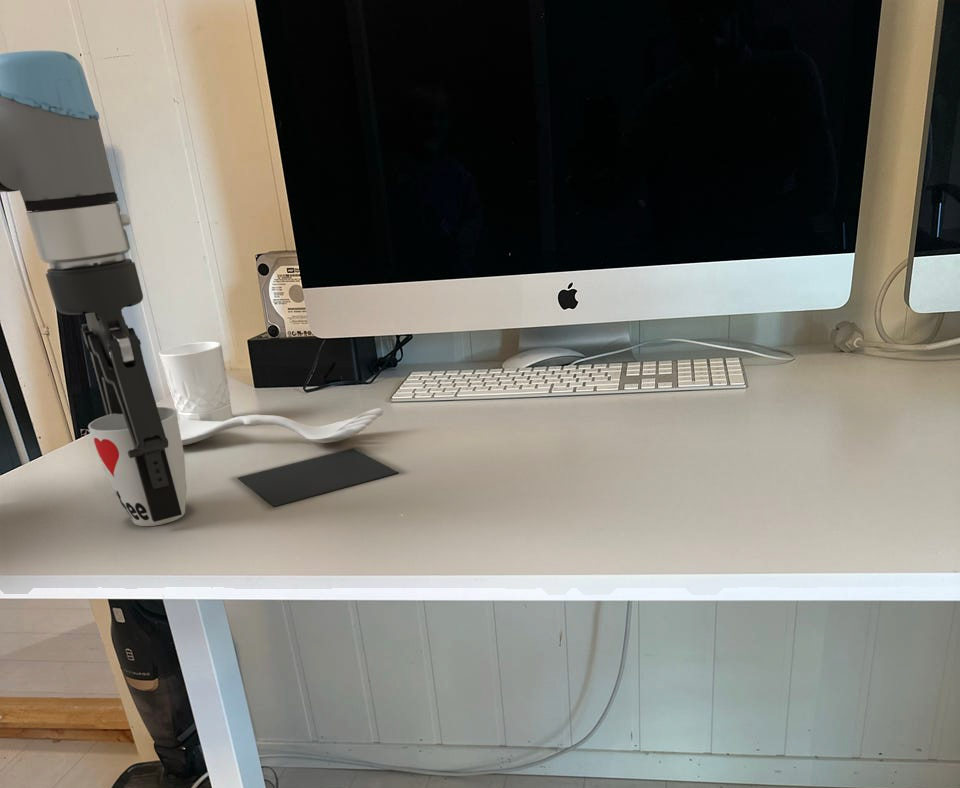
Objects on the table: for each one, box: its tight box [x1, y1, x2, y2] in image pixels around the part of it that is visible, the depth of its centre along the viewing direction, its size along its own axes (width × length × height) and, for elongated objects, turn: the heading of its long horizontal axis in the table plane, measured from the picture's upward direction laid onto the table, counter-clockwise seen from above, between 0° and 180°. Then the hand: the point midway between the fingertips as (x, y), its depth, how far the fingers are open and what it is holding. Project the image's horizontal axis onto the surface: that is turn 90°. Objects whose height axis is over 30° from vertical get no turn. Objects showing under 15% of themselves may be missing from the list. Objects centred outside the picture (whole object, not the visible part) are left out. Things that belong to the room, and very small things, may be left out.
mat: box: [237, 448, 399, 508], centre depth 98 cm, size 14×12×1 cm
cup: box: [87, 406, 188, 527], centre depth 89 cm, size 8×8×10 cm
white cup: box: [158, 341, 234, 422], centre depth 119 cm, size 8×8×10 cm
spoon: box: [177, 407, 384, 446], centre depth 111 cm, size 9×32×4 cm, turn 72°
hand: (156, 505), depth 91 cm, fingers closed on cup, 8 cm apart
